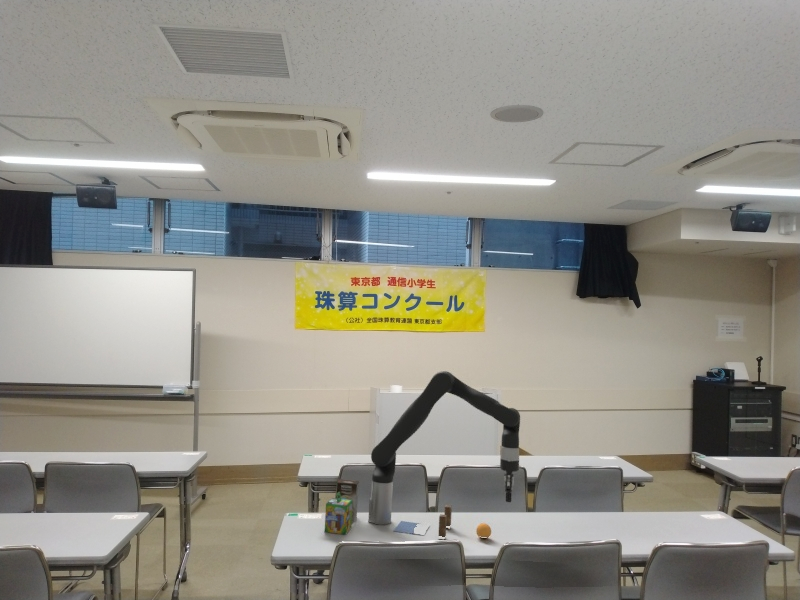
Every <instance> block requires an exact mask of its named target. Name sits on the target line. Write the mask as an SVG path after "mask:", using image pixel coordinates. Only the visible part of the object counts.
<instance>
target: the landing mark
mask: <svg viewBox="0 0 800 600" xmlns="http://www.w3.org/2000/svg"><path fill="white" fill-rule="evenodd" d="M417 524H420V523H419V522H411V521H405V520H404V521H403V520H400V522H399V523H398V524H397V526H396V527H395V528H394V529H393V533H401V534H402V533H403V534H408V533H411V534H410V535H415V534H414V528H415V527H417V526H416V525H417ZM412 533H413V534H412Z"/></svg>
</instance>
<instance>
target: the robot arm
mask: <svg viewBox="0 0 800 600" xmlns="http://www.w3.org/2000/svg"><path fill="white" fill-rule="evenodd" d="M446 393H448V394H450V395H453V396H456V397H458V398H460V399H462V400H464V401H466V402H467V403H468V404H469V405H470V406H472V407H473V408H475V409H477V410H479V411H480V412H482V413H484V414H486V415H487V416H490V417H491V418H493V419H494V420H496V421H498V422H499V423H500V424H502V426H503V427H502V433H501V446H500V458H499V459H500V463H499V465H500V466H499V469H500V470H502V471H504V472H505V473H504V475H503V480H504V488H505V490H504V492H505V502H506V503H512V495H513V494H512V493H513V487H514V481H515V474H514V472H518V471H519V470H520V446H519V445H520V426H521V414H520V412H519V411H518V409H516V408H514V407H508V406H505V405H504V404H502V403H500V401H498V400H497V399H495V398H493V397H491V396H489V395H487V394H486V393H483V392H481V391H479V390H477V389H475V388H473V387H471V386H469V385H468V384H466V383H465V382H463V381H462V380H460V379H459V378H457V377H456V376H455V375H454V374H453V373H451V372H449V371H448V370H447V371H446V370H444V371H438V372H436V373H435V374H434V375H433V376H432V378H431V379H430V380H429V382H428V384H427V385H426V386H425V388H424V390H423V391H422V392H421V393H420V395H418V396H417V398H416V399H414V401H413V402H412V403H411V404H410V405H409V406H408V407H407V409H406V410H405V411H404V412H403V413H402V414H401V415H400V417H399V418H398V420H397V421H396V422H395V424H394V425H393V426H392V428H391V430H390V431H389V432H388V434H387V435H386V436H385V437H383V439H382V440H381V441H380V442H379V443H378V444H377V445H376V446H374V448H373V449H372V451H371V454H370V458H371V462H372V464H373V465H375V466H374V471H373V473H372V475H371V492H370V493H371V495H370V496H371V497H370V498H369V502H368V503H369V505H368V522H370V523H372V524H376V525H389V524H390V523H392V508H393V487H394V485H393V484H394V477H395V471H396V461H397V460H396V459H397V450H398V449H399V448H400V447H401V446H402V445H403V444H404V443H405V442H406V441H408V440H409V439H410V438H411V437H412V436H413V435H414V434H415V433H416V432H417V431H418V430H419V429H420V428H421V426H422V425H423V424H424V423H425V421H426V420H427V418H428V417H429V416H430V413H431V411H432V409H433V407H434V406H435V405H436V403H437V402H438V401H439V400H440V399H441V398H442V397H444V395H445V394H446Z"/></svg>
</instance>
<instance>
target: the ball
mask: <svg viewBox="0 0 800 600" xmlns="http://www.w3.org/2000/svg"><path fill="white" fill-rule="evenodd" d="M475 530H476V535H477V537H479V536H481V537H489V536H490V537H491V535H492V528H491V527H490V525H489V524H487V523H484V522H483V523H479V524H478V525H477V526H476V529H475ZM490 537H489V538H490Z"/></svg>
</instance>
